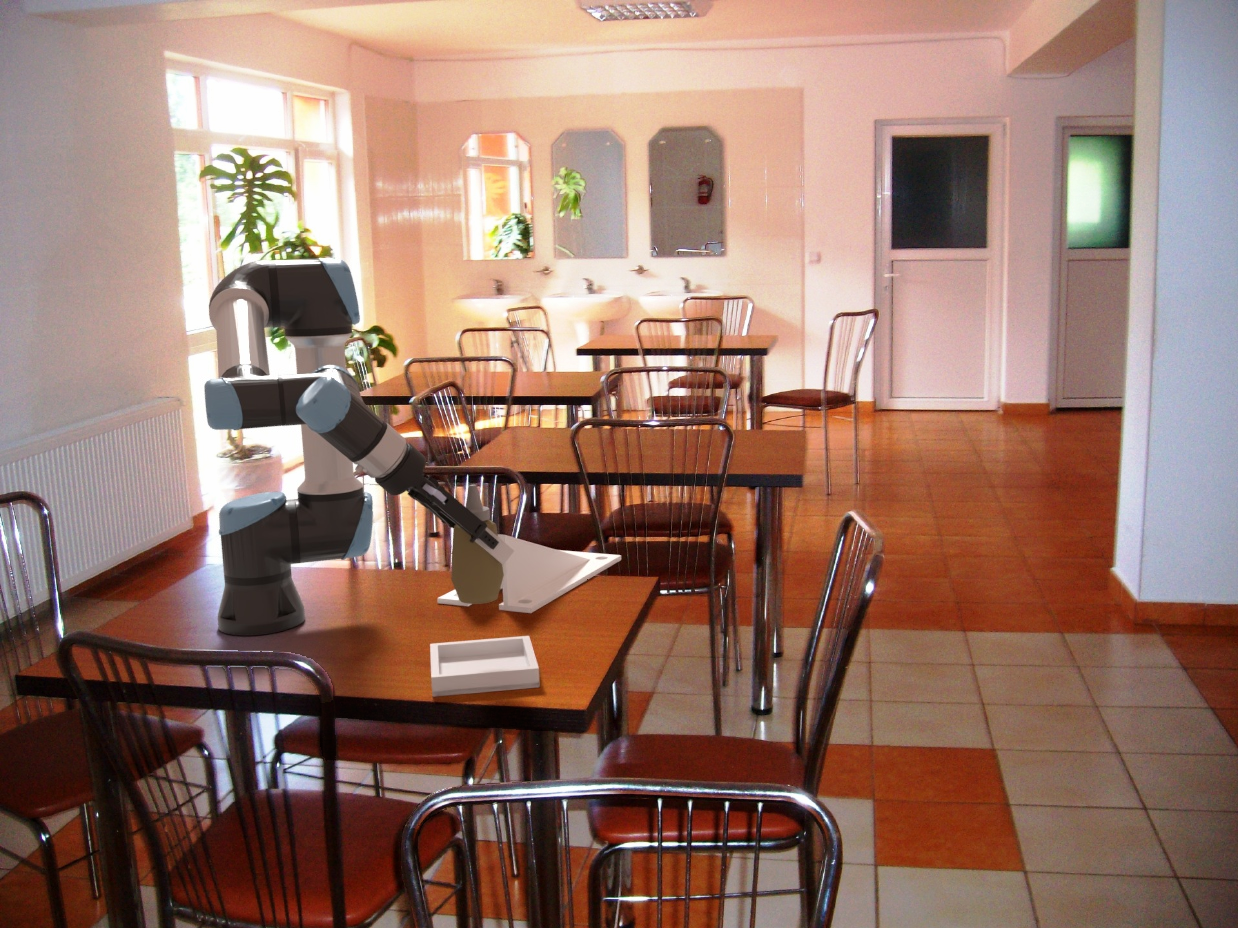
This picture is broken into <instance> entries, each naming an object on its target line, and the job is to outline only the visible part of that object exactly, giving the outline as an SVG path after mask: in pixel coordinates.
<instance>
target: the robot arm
mask: <svg viewBox="0 0 1238 928" xmlns="http://www.w3.org/2000/svg"><path fill="white" fill-rule="evenodd" d="M208 316H209V320H210V323H211V325H212V327H213V329H215V332H216V333H215V334H216V351H217V352H216V354H217V355H216V356H217V372H218V373H217V374H218V377H217V378H213V379H212V378H211V379H209V380H207V381H206V382H204V401H205V403H204V404H205V412H206V420H207V425H208V426H209V428H210V429H212V430H214V431H215V430H216V431H217V430H219V431H220V430H222V431H223V430H225V431H226V430H227V431H228V430H230V431H231V430H233V431H240V430H247V429H257V428H258V429H259V428H270V427H281V426H282V427H285V426H286V427H288V426H300V427H301V429H300V430H301V441H302V453H303V454H302V455H303V467H304V468H303V469H304V480H303V482H302V483H301V484H300V485H299V486H298V487H297V490H296V491H297V498H296V499H295V498H294V499H287V495H286V494H285V493H284V492H282V491H266V492H259V493H255V494H249V495H245V496H242V497H238V498H236V499H234V500H230V501H229V502H227V503H226V504H224V505H223V506H222V507H221V508H220V511H219V513H218V514H219V515H218V516H219V517H218V518H219V529H218V535H220V542H221V543H220V545H221V553H222V554H221V556H222V566H223V569H222V570H223V580H224V587H223V592H222V596H221V601H220V605H219V609H218V613H217V625H218V626H217V628H218V630H219V631H220V632H222V633H223V634H227V635H232V636H259V635H261V636H262V635H268V634H273V633H279V632H282V631H283V632H284V631H286V630H290V629H292V628H295V627H297V626H300V625H301V624H302V623H304V621H305V620H306V614H305V605H304V603H303V600H302V598H301V596H300V594H299V592H298V590H297V587H296V585H295V581H294V580H293V577H292V575H293V574H292V565H295V564H304V563H314V562H323V561H324V562H325V561H335V560H336V561H337V560H341V561H345V560H346V559H350V558H351V559H352V558H357V557H358V558H359V557H362V556H364V555H365V554H367V552H368V551H369V549H370V547H371V546H370V545H371V542H372V535H373V524H374V523H373V522H374V519H373V517H374V511H373V504H374V503H373V496H372V494H371V493H369V492H367V491H364V483H362V482H361V481H360V480H359V479H357V477H356V476H355V475H354V470H355V471H356V472H357V473H359V474H360V473H362V472H364V473H365V475H367V476H369V478H371V479H374V480H375V481H374V482H375V483H376V484H377V485H378V486H379V487H381V488H382V489H383V490H385V491H386V493H388V494H389V495H391V496H399V495H402V494H403V493H405V492H407V495H408V496H409V497H410V498H411V499H412V500H415V501H417V502H418V503H419V504H420V505H421V506H423V507H424V508H426V509H427V510H428V511H429V512H431V513H432V514H433V515H434V516H435V517H436V518H438V519H439V520H440V521H441V523H442V524H445V525H447V526H448V527H449V528H451V529H454V526H455V525H458V526H459V527H460V528H461V529H463V530H464V531H465V532H466V533H468V534H469V535H470V536H471V539H470V540H469V541H470V542H471V543H474V541H475V542H476V543H477V544H479V545H480V546H481V547H482V548H484V549H485V550H486V551H487V552H488V553H489V554H491V555H492V556H493V557H494V558H495V559H496V560H497V561H499V562H500V563H501V564H503V565H504V564H505V562H506V561H507V560H508V559H509V557H510V556H511V555H512V553H513V552H514V550H513V549H512V548H510V547H509V546H508V545H507V544H506V543H505V542H503V541H502V540H501V539H500V538H499V537H498V536H496V535H495V534H494V533H493V532H492V531H491V530H490V529H488V528H487V527H488V526H487V524H486V523H485V522H483V521H481V520H480V519H479V518H478V517H477V516H475V515H474V514H473V513H472V512H471V511H469V510H468V509H467V508H466V505H464V504H463V503H461V502H460V501H459V500H458V499H456V498H455V497H454V496H453V495H452V494H451V493H450V492H449V491H447V489H446V488H445V486H443V485H441V484H440V483H439V481H438V480H437V479H436V478H434V477H433V476H431V475H429V476H428V475H427V474H425V473H424V469H425V468H426V464H427V458H426V456H425V455H424V453H422V452H421V451H419V449H417V448H416V447H415V446H414V445H413V444H411V443H410V442H407V439H406V438H405V437H404V436H402V435H401V434H400V433H399V432H398V431H397V430H396V429H395V428H394V427H392V426H391V425H390V424H389V423H388V422H386V421H385V420H383V418H381V417H380V416H379V415H378V414H376V412H374V411H373V410H372V409H371V408H370V407H369V406H368V405H366V404H365V402H364V400H363V397H362V395H361V393H360V392H361V390H360V386H359V384H358V382H357V380H356V379H355V378H354V376H353V375H352V374H351V373H350V372H349V371H348V370H347V365H346V364H347V362H346V350H345V349H346V348H345V345H346V343H347V341H348V340H349V339H350V338H351V336H353V326H352V325H354V326H356V325H357V324H359V323H360V321H361V315H360V307H359V301H358V296H357V291H356V287H355V282H354V279H353V275H352V272H351V269H350V267H349V265H348V264H347V262H346V261H345V260H343V259H340V258H324V257H319V258H302V259H300V258H299V259H296V258H295V259H275V260H274V259H272V260H267V259H264V260H262V259H261V260H257V261H250V262H248V263H246V264H243V265H241V266H239V267H237V268H235V269H234V270H232V271H231V272H230V273H228V274H227V275H226V276H224V278H222V279H221V280H220V281H219V283H218V284H217V285H216V286H215V287H214V290H213V292H212V294H211V296H210V299H209V304H208ZM265 328H266V329H267V328H273V329H274V328H284V329H283V330H284V338H285V340H287V341H288V342H289V343H291V344H292V345H293V346H294V353H295V363H296V364H295V365H296V373H295V374H277V375H271V373H270V365H269V358H268V357H269V356H268V349H267V339H266V331H265ZM354 465H356V466H355V469H354Z"/></svg>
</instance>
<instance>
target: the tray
mask: <svg viewBox="0 0 1238 928" xmlns="http://www.w3.org/2000/svg"><path fill="white" fill-rule="evenodd" d="M429 647H430V648H429V650H430V651H429V652H430V654H429V655H430V674H431V675H430V677H431V678H430V679H431V695H432V697H433V698H434V697H435V698H436V697H444V696H456V695H467V694H478V693H489V692H500V691H511V690H521V689H522V690H525V689H534V688H535V689H536V688H540V686H541V685H540V684H541V683H540V668H539V663H538V660H537V658H536V655H535V651H534V648H533V644H532V641H531V638H530V635H522V636H509V637H499V638H498V637H497V638H485V639H484V638H483V639H474V640H473V639H471V640H470V639H469V640H460V641H449V642H448V641H447V642H436V643H429Z"/></svg>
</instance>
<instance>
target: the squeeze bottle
mask: <svg viewBox="0 0 1238 928" xmlns="http://www.w3.org/2000/svg"><path fill="white" fill-rule="evenodd" d="M480 495H481V494H480V492H479V489H478V485H477V484H469V485H468V489H467V497H466V500H465V501H466V502H465V507H466V508H467V509H468V510H469V511H471V512H472V513H473V514H474V515H475V516H477V517H478V518H479V519H480V520H481V521H483V522H485V523H486V524H487V526H488V527H487V528H488V529H490V530H491V531H492V532H493V533H494V534H495V535H496V536H498V528H497V527H498V526H497V524H496V523H495V522H494V521H492V520H490V512H491V511H490V508H489V507H488V506H483V504H482V503H483V502H482V500H481V496H480ZM452 529H453V533H452V550H451V551H452V553H451V554H452V555H451V575H450V577H451V578H450V579H451V582H452V585H453V587H454V590H456V592H457V595H458V598H459V600H460V601H461V602H463V603H468V604H472V605H483V604H488V603H491V602H494V601H496V600H498V598H499V593H500V591H501V589H500V587H501V583H502V580H503V576H504V573H503V566H502V564H501V563H500V562H499V561H497V560H496V559H495V558H494V557H493V556H492V555H491V554H489V553H488V552H487V551H486V550H485V549H484V548H482V547H481V546H480V545H479V544H477V543H476V542H475V541H474V543H471V542H470V541H469V540H470V539H471V536H470V535H469V534H468V533H466V532H465V531H464V530H463V529H461V528H460V527H459V526H458V525H455V526H454V528H452Z"/></svg>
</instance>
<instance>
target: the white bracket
mask: <svg viewBox="0 0 1238 928" xmlns="http://www.w3.org/2000/svg"><path fill="white" fill-rule="evenodd" d="M498 537H499V538H500V539H501V540H502V541H503V542H505V543H506V544H507V545H508V546H509V547H510V548H512V549H513V550H514V552H513V553H512V555H511V556H510V557H509V559H508V560H507V561H506V562H505V564H504V565H503V564H502V566H503V573H504V576H503V580H502V583H501V587H500V590H502V600H503V601H502V602H501V603H499V604H498V610H499V611H506V612H507V611H508V612H514V613H515V612H516V613H524V614H527V613H528V614H532V613H534V612H535V611H537V610H538V609H540V608H542V607H544V606H546V605H547V604H549V603H551V602H553V601H554V600H555V599H558V598H559V597H561V596H562V595H564V594H566V593H567V592H570V591H571V590H572V589H574V588H576V587H579V585H581V584H583V583H585V582H587V581H588V580H590V579H591V578H593V577H594V576H597V575H598V574H600V573H601V572H603V571H605V570H607V569H608V568H610V567H612V566H613V565H615V564H617V563H618V562H620V561H622V555H620V554H609V553H599V552H587V551H586V552H585V551H576V550H575V551H572V550H561V549H555V548H551V547H548V546H544V545H541V544H538V543H534V542H530V541H528V540H527V541H526V540H524V539H520V538H517V537H514V536H510V535H507V534H502V533H501V534H498ZM587 579H588V580H587ZM436 599H437V604H442V605H443V604H444V605H450V606H452V605H453V606H461V607H470V606H472V605H473V604H468V603H463V602H461V601H460V600H459V598H458V595H457V592H456V590H455V589H453V590H451V591H449V592H447V593H445V594H443V595H441V596H439V597H437V598H436Z"/></svg>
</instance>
